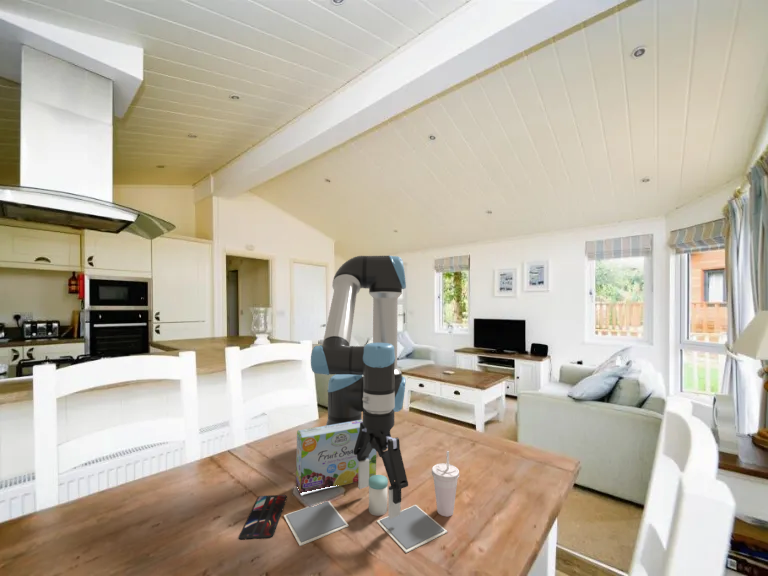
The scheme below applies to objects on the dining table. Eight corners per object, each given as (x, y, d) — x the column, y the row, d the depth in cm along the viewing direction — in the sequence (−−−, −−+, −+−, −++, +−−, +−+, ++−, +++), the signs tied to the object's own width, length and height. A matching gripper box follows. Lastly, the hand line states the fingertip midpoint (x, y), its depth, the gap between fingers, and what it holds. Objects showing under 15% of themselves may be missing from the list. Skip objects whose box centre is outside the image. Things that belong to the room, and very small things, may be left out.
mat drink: (376, 521, 76) (376, 519, 76) (415, 505, 82) (415, 503, 82) (406, 553, 67) (406, 551, 67) (447, 532, 73) (447, 530, 73)
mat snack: (283, 516, 78) (283, 514, 78) (328, 500, 84) (328, 499, 84) (299, 546, 69) (299, 544, 69) (348, 526, 75) (348, 524, 75)
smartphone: (237, 538, 70) (258, 495, 85) (237, 542, 70) (258, 498, 85) (273, 537, 71) (287, 494, 86) (273, 540, 71) (287, 497, 86)
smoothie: (459, 522, 76) (459, 459, 76) (430, 518, 77) (430, 456, 78) (459, 504, 82) (459, 446, 83) (432, 501, 84) (432, 444, 84)
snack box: (300, 498, 85) (301, 437, 85) (295, 487, 90) (296, 429, 90) (377, 477, 95) (377, 423, 95) (368, 468, 100) (368, 416, 100)
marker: (365, 507, 81) (365, 478, 81) (380, 501, 84) (381, 472, 84) (374, 518, 77) (375, 487, 77) (391, 511, 80) (391, 481, 80)
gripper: (341, 398, 89) (340, 481, 89) (395, 429, 68) (395, 537, 68) (366, 394, 93) (365, 473, 93) (424, 422, 72) (424, 524, 72)
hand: (378, 500), depth 80 cm, fingers open, 13 cm apart
